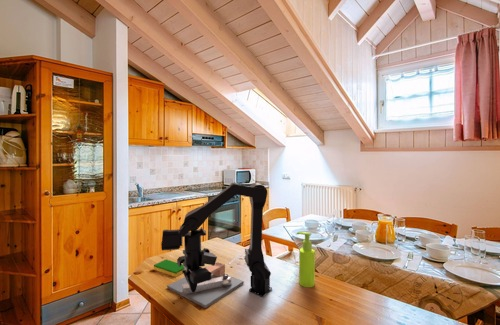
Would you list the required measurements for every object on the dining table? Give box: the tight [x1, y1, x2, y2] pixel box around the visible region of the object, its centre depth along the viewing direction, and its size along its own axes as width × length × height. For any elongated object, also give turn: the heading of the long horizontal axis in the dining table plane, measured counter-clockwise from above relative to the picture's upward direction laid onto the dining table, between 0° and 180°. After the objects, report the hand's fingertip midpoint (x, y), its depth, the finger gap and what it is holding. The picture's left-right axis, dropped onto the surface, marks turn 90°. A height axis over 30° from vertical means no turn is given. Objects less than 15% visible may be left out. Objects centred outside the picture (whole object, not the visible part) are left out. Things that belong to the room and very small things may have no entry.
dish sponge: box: [153, 259, 185, 278], centre depth 113 cm, size 7×14×2 cm, turn 59°
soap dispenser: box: [296, 230, 316, 288], centre depth 101 cm, size 6×7×20 cm
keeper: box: [206, 261, 226, 277], centre depth 104 cm, size 4×8×4 cm, turn 143°
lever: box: [182, 273, 233, 295], centre depth 96 cm, size 18×5×3 cm, turn 113°
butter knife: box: [227, 253, 243, 265], centre depth 118 cm, size 1×27×3 cm
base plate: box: [166, 266, 244, 309], centre depth 100 cm, size 21×20×1 cm
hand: (193, 291), depth 92 cm, fingers closed
